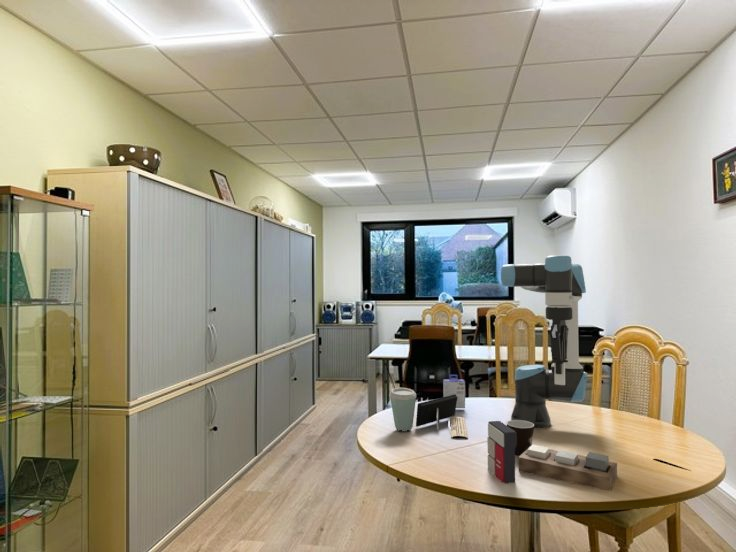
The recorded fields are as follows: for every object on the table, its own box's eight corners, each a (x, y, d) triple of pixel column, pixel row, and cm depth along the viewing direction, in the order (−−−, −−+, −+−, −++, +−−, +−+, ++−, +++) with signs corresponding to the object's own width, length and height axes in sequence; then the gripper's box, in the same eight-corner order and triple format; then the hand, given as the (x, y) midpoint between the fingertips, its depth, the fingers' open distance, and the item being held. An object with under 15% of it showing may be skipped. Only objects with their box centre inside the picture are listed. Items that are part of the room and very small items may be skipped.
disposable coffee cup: (422, 428, 175) (422, 389, 176) (406, 435, 167) (406, 394, 167) (400, 422, 182) (400, 385, 182) (383, 429, 174) (383, 390, 174)
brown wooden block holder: (518, 474, 132) (518, 457, 133) (531, 461, 142) (531, 445, 142) (610, 496, 118) (609, 477, 118) (617, 480, 128) (617, 463, 128)
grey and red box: (486, 471, 135) (485, 421, 135) (499, 470, 135) (499, 420, 136) (502, 487, 124) (502, 432, 124) (517, 486, 124) (516, 432, 125)
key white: (527, 466, 134) (527, 449, 134) (532, 460, 138) (532, 444, 138) (544, 470, 131) (544, 453, 131) (549, 464, 135) (549, 448, 135)
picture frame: (455, 416, 191) (433, 409, 196) (459, 395, 190) (436, 388, 195) (437, 434, 173) (413, 425, 177) (441, 410, 171) (417, 402, 176)
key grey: (555, 472, 130) (555, 455, 130) (560, 467, 134) (559, 450, 134) (574, 477, 127) (573, 459, 127) (578, 471, 131) (578, 453, 131)
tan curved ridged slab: (468, 440, 163) (467, 435, 163) (448, 440, 164) (448, 435, 164) (464, 421, 186) (464, 416, 186) (447, 420, 187) (447, 416, 187)
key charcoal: (585, 475, 125) (585, 457, 125) (589, 469, 129) (589, 451, 129) (605, 479, 122) (605, 461, 122) (609, 473, 126) (608, 455, 126)
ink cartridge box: (464, 405, 207) (464, 374, 208) (465, 409, 202) (465, 376, 202) (443, 405, 209) (442, 373, 209) (443, 408, 203) (443, 376, 203)
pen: (697, 480, 128) (697, 474, 128) (649, 462, 141) (648, 457, 141) (700, 479, 129) (700, 473, 129) (652, 461, 142) (652, 456, 142)
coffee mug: (521, 461, 142) (520, 429, 142) (501, 452, 150) (500, 422, 150) (546, 454, 147) (546, 424, 147) (526, 446, 155) (526, 417, 155)
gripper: (566, 308, 129) (567, 390, 129) (577, 305, 139) (578, 381, 139) (539, 307, 134) (540, 386, 133) (551, 305, 144) (552, 378, 144)
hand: (559, 384), depth 136 cm, fingers closed
